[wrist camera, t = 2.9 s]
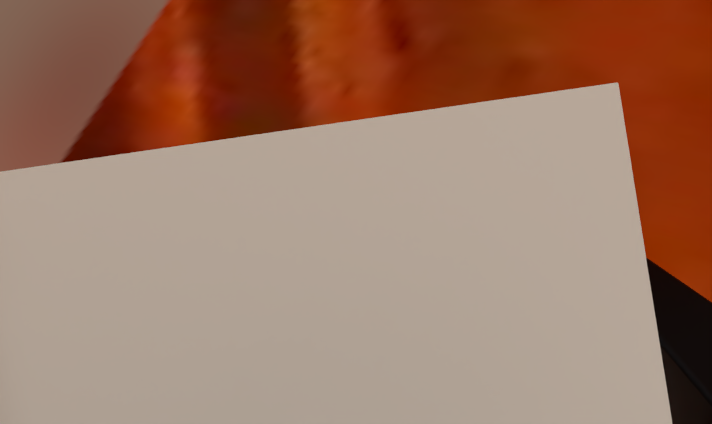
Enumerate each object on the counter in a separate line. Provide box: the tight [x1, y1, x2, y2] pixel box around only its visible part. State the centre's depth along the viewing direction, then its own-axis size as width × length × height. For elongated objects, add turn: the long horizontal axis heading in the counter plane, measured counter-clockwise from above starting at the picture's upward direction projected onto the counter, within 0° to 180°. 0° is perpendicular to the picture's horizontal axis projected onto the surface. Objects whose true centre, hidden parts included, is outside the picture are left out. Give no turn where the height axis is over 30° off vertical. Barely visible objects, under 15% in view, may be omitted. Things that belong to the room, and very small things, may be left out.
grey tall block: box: [0, 83, 672, 424], centre depth 9 cm, size 4×5×13 cm
